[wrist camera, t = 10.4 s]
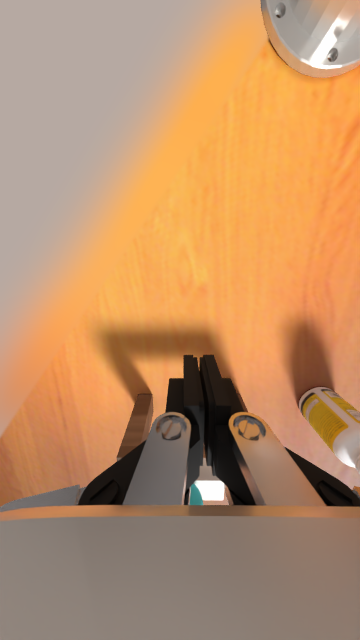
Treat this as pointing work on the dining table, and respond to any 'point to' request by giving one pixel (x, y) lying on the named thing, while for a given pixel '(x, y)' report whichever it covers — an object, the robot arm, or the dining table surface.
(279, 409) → the dining table surface
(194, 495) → the ball
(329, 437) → the supplement bottle
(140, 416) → the bridge
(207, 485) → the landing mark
